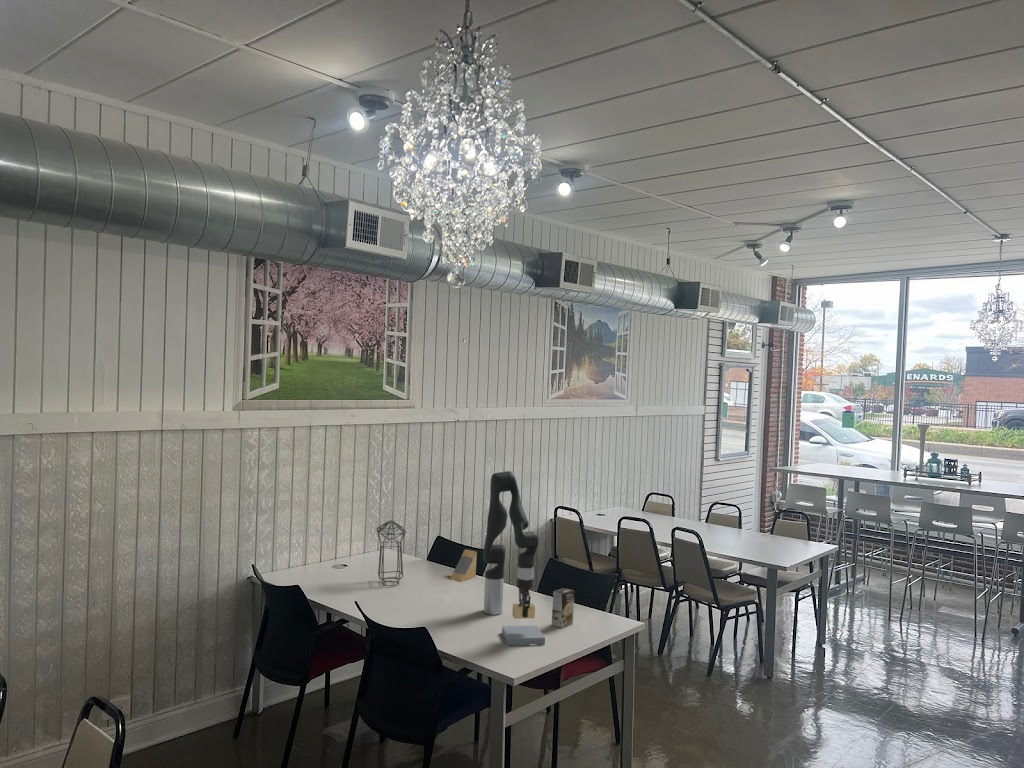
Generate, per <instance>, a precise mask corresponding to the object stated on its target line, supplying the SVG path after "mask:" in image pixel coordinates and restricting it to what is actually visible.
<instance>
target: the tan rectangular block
mask: <svg viewBox="0 0 1024 768" xmlns="http://www.w3.org/2000/svg"><path fill="white" fill-rule="evenodd" d="M525 606H527V604H526V605H525ZM535 614H536V606H535V605H534V604H533V603H530V608H529V609H528V617H523V616H522V615H523V604H520V603H512V617H513V619H514V620H517V619H518V620H519V619H522V620H523V619H524V620H525V619H535V616H536V615H535Z"/></svg>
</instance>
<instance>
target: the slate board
mask: <svg viewBox="0 0 1024 768" xmlns="http://www.w3.org/2000/svg"><path fill="white" fill-rule="evenodd" d="M502 633H503V634H502ZM501 634H502V636H503V635H504V636H503V637H505V638H504V640H505V641H506V642H507V643H506V644H507V645H508V644H509V645H514V646H529V645H528V644H545V645H546V637H545V636H544V634H543V633H542V631H541V630H540V629H539V627H538V626H537V625H513V626H512V625H508V626H507V625H505V626H504V625H503V626H502V627H501ZM526 644H527V645H526ZM509 645H508V646H509Z"/></svg>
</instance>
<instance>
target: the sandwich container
mask: <svg viewBox="0 0 1024 768" xmlns="http://www.w3.org/2000/svg"><path fill="white" fill-rule="evenodd" d="M477 555H478V552H477V551H475V550H472V549H464V550H463V552H462V554H461V556H460V559H459V561H458V563H457V564H456V565H455V568H454V570H453V572H452V574H451V576H450V578H449V580H450V579H451V580H450V581H452V580H455V581H454V582H457V581H458V583H464V582H465V581H468V580H471V579H474V578H476V575H477V574H476V573H477V560H478V559H477Z"/></svg>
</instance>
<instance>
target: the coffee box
mask: <svg viewBox="0 0 1024 768" xmlns="http://www.w3.org/2000/svg"><path fill="white" fill-rule="evenodd" d="M552 591H553V594H552V608H551V609H552V611H551V626H554V627H558V628H561V629H563V628H565V627H567V626H571V625H573V623H574V610H575V594H576V593H575V592H576V591H575V590H574V589H571V588H566V587H563V588H560V589H559V588H558V589H556V590H552Z"/></svg>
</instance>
